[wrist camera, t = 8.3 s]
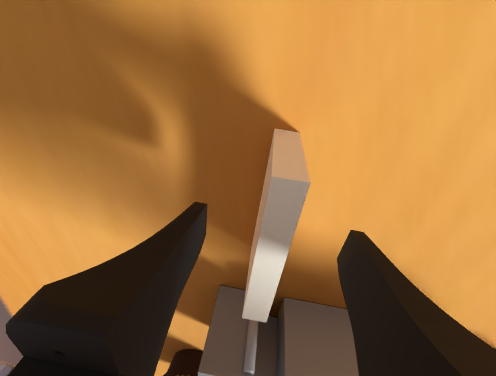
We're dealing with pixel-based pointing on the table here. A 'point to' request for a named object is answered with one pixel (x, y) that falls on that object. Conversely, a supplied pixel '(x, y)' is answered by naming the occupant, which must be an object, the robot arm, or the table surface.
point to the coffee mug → (185, 363)
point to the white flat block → (275, 221)
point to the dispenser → (278, 340)
